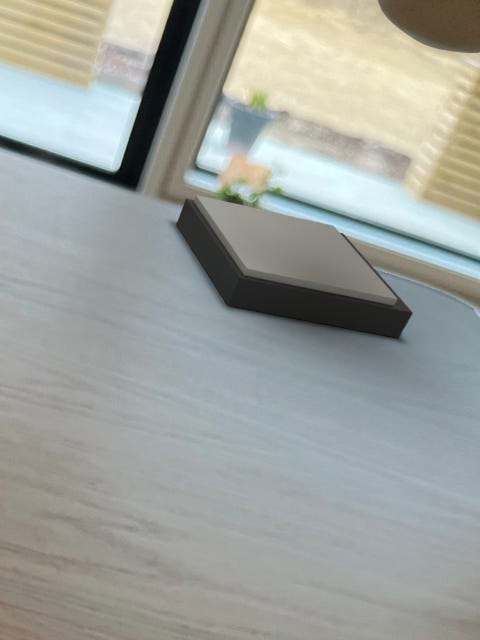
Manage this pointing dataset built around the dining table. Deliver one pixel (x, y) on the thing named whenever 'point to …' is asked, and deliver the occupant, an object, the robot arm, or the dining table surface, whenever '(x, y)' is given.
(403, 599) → the dining table surface
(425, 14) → the vase
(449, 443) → the dining table surface
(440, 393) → the dining table surface
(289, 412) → the dining table surface
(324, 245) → the scale
